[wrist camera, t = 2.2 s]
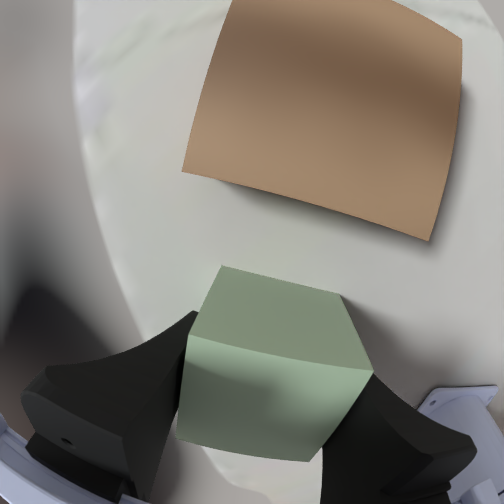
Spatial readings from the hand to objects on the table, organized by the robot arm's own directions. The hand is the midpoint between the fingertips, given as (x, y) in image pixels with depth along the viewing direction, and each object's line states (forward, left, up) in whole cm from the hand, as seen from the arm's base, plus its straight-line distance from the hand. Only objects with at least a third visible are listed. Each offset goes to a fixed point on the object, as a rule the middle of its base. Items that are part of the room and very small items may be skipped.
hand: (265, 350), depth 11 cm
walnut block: (+10, 0, -2) cm, 10 cm away
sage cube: (0, 0, -2) cm, 2 cm away
